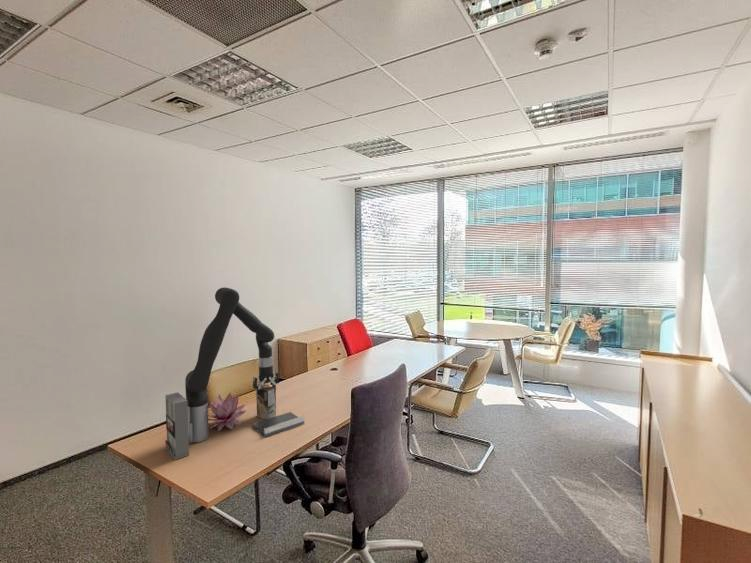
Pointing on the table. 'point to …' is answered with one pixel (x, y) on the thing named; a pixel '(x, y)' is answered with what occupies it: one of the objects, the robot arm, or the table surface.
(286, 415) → the shelf
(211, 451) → the table surface
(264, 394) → the coffee box
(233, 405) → the decorative flower
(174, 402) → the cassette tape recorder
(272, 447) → the table surface
